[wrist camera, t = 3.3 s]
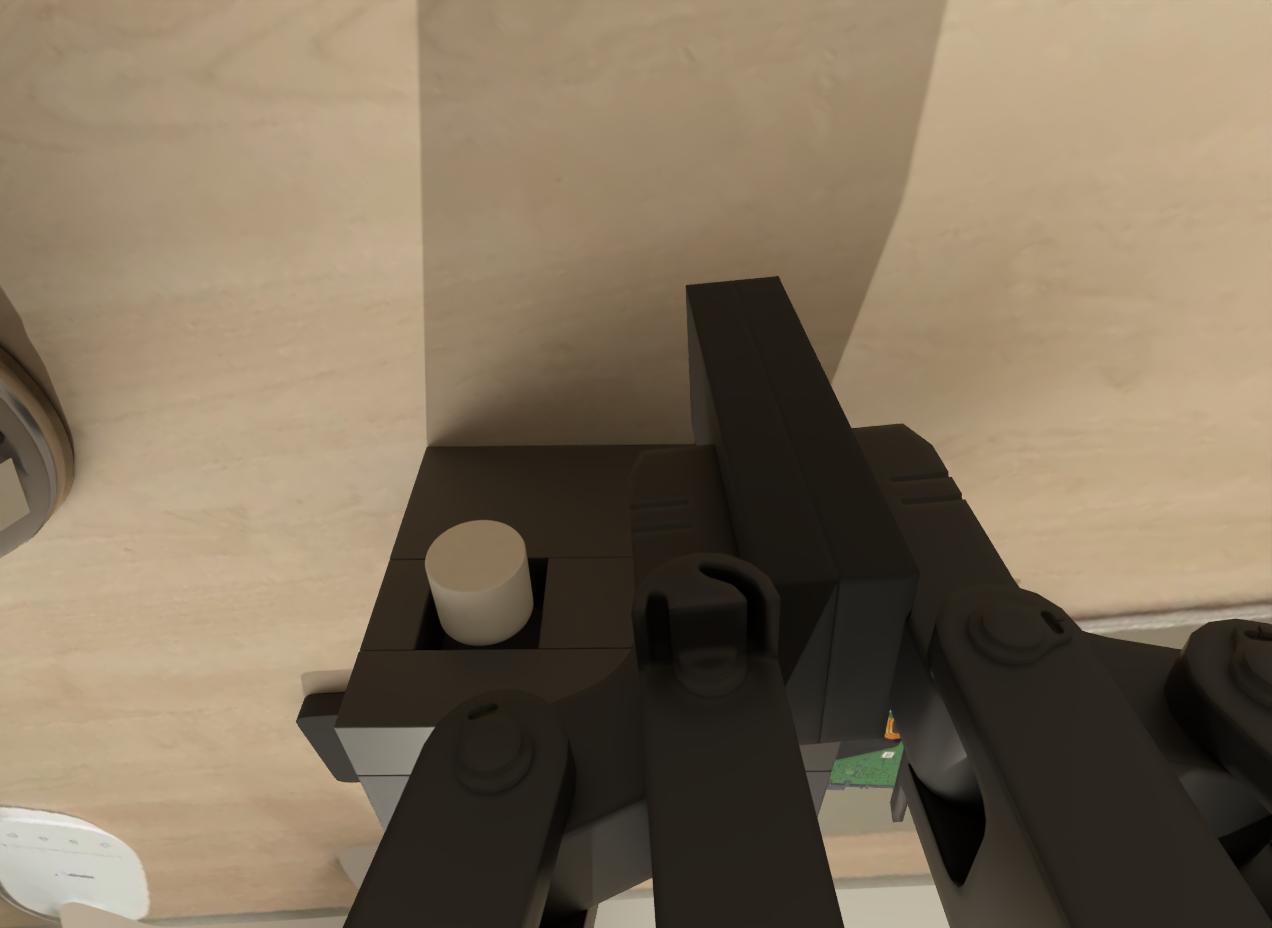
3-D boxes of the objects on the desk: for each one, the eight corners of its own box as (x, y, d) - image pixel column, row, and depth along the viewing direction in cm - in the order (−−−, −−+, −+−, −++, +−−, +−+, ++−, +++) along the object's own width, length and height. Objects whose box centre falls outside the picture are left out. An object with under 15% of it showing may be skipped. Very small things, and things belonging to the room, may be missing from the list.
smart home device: (636, 770, 49) (338, 786, 50) (636, 745, 51) (346, 762, 52) (622, 698, 44) (290, 718, 45) (623, 673, 45) (300, 693, 47)
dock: (426, 446, 34) (333, 727, 23) (779, 443, 34) (848, 722, 23) (454, 566, 39) (388, 842, 29) (762, 563, 39) (811, 838, 29)
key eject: (435, 519, 27) (414, 592, 24) (530, 518, 27) (519, 591, 24) (449, 574, 29) (431, 647, 26) (537, 573, 29) (528, 646, 26)
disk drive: (812, 607, 42) (759, 750, 51) (822, 649, 40) (765, 790, 49) (992, 618, 42) (907, 757, 52) (1012, 660, 40) (920, 797, 50)
